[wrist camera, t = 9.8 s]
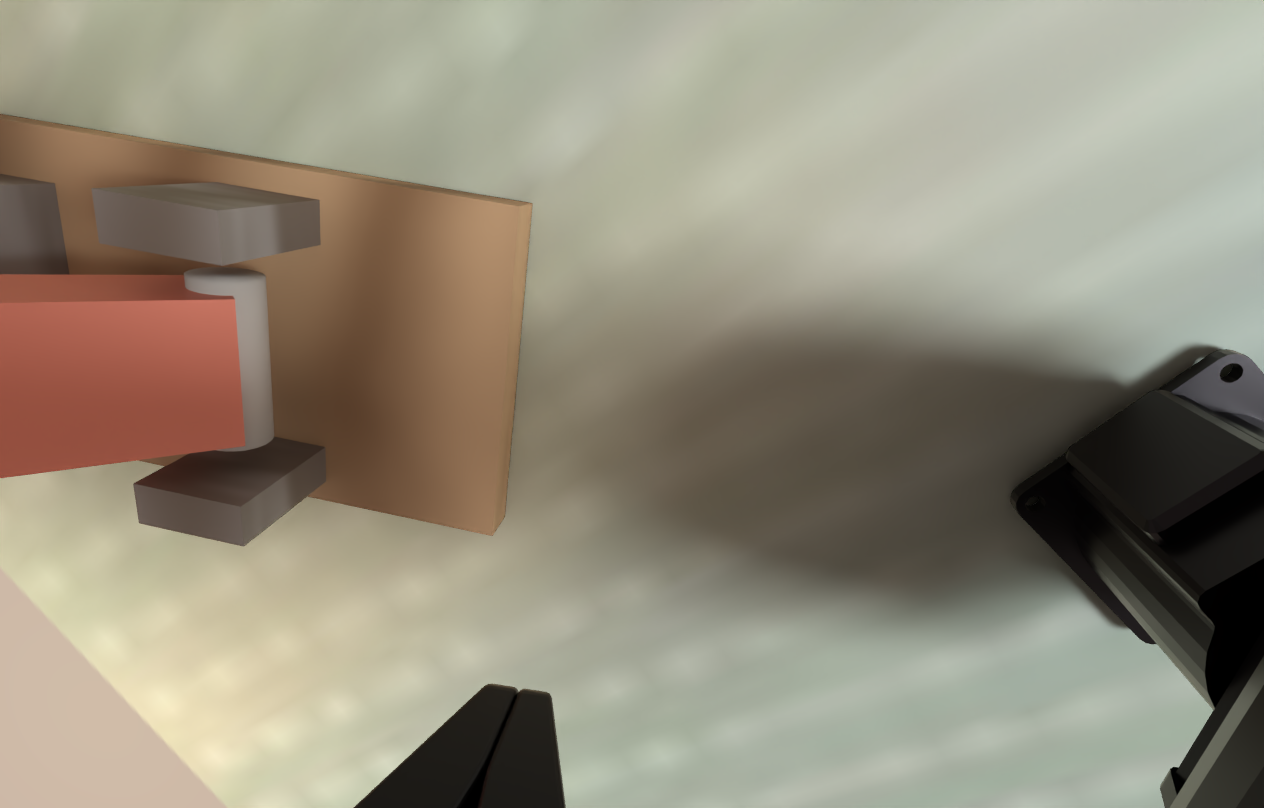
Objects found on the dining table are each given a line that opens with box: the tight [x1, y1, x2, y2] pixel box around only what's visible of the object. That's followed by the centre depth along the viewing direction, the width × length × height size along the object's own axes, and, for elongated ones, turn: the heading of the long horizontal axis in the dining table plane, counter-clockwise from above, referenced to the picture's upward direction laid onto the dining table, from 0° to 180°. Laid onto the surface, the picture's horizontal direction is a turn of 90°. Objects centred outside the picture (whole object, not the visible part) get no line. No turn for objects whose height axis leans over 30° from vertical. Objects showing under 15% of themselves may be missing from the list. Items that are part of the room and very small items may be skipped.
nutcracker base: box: [0, 114, 532, 546], centre depth 19 cm, size 20×10×5 cm, turn 82°
